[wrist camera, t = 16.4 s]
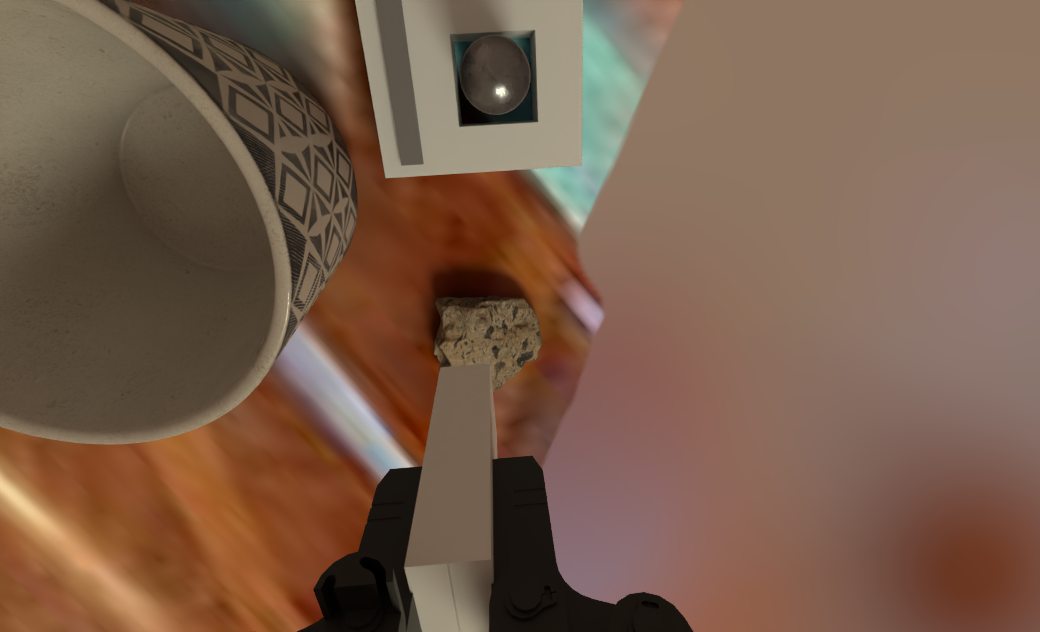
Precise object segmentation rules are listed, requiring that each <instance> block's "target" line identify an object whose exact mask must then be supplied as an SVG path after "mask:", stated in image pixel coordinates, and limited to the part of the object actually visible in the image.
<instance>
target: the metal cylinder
mask: <svg viewBox="0 0 1040 632" xmlns="http://www.w3.org/2000/svg"><path fill="white" fill-rule="evenodd" d="M530 76H531V74H530V66H529V62H528V59H527V57H526V55H525V53H524V52H523V50H522V49H521V48H520V46H519V45H518V44H517V43H515V42H514V41H513V40H511V39H509V38H507V37H505V36H501V35H487V36H484V37H481V38H479V39H477V40H476V41H474V42H473V43H472V44H471V45H470V46H469V47H468V49H467V50H466V52H465V54H464V56H463V58H462V61H461V65H460V83H461V86H462V89H463V92H464V94H465V96H466V98H467V99H468V100H469V102H470V103H471V104H472V105H473V106H474V107H476V108H477V109H479V110H480V111H482V112H484V113H488V114H493V115H499V114H504V113H507V112H510V111H512V110H513V109H515V108H516V107H517V106H518V105H519V104H520V103H521V102H522V101H523V99H524V98H525V96H526V94H527V92H528V89H529V85H530Z"/></svg>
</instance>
